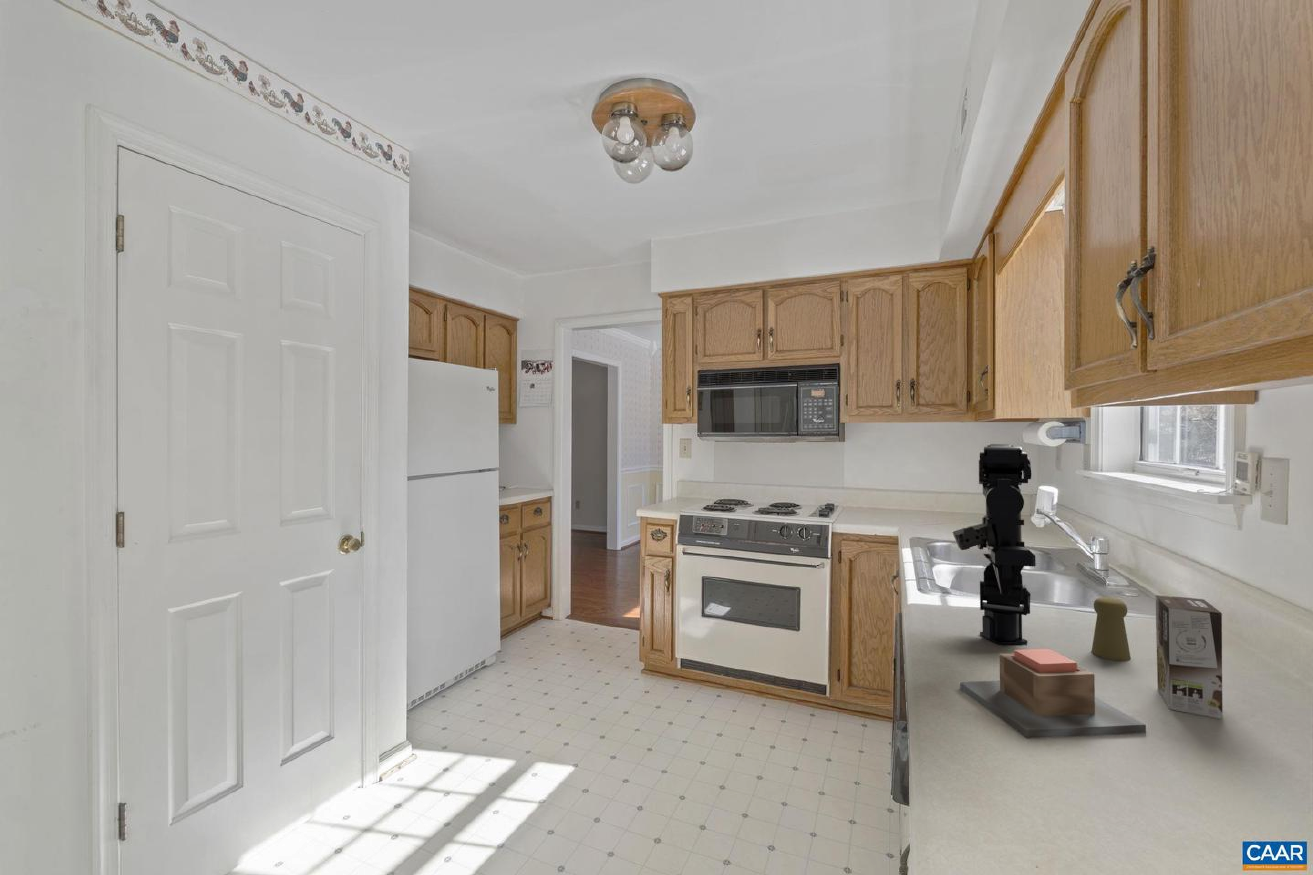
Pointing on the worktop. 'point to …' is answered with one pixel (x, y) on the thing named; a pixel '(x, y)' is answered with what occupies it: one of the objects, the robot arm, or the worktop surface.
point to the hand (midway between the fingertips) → (1004, 594)
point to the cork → (1110, 630)
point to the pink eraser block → (1045, 660)
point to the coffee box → (1189, 655)
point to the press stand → (1049, 702)
